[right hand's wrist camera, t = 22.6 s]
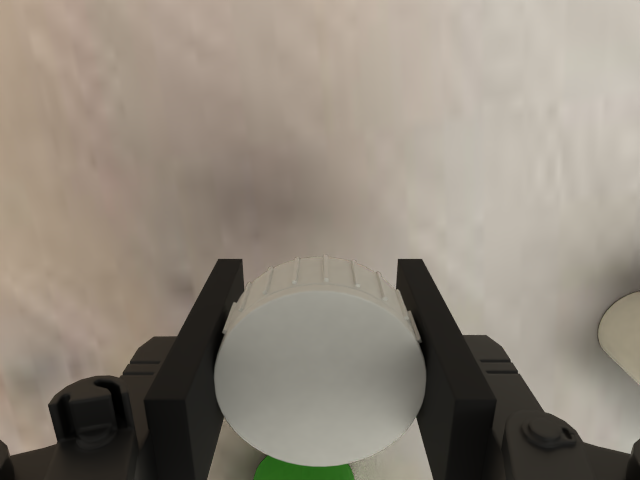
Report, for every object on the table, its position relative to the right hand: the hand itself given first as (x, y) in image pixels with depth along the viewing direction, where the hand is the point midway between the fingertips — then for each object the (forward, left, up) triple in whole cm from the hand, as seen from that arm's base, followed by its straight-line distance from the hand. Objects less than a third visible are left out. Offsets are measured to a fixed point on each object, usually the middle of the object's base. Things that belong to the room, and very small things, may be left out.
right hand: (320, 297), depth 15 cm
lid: (0, 0, +4) cm, 4 cm away
